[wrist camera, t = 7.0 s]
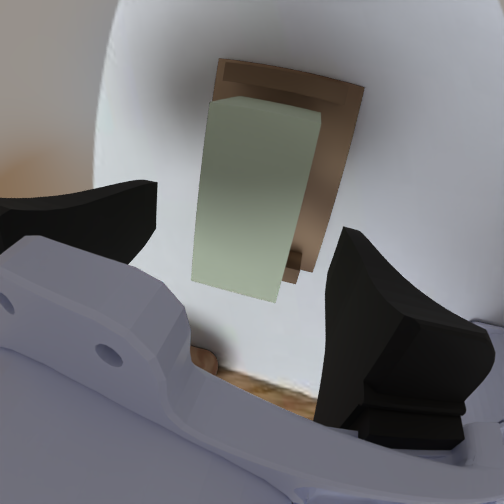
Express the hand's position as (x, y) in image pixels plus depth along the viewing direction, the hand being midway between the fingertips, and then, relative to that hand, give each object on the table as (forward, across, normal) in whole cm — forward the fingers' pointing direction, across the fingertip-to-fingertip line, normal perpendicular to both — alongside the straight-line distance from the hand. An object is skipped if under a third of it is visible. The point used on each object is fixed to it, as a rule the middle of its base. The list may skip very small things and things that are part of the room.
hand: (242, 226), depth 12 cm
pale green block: (+5, 0, 0) cm, 5 cm away
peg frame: (+8, 0, 0) cm, 8 cm away
